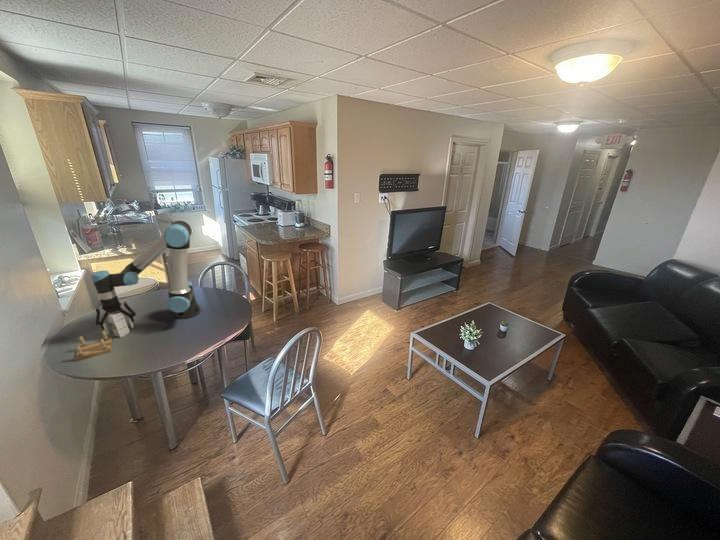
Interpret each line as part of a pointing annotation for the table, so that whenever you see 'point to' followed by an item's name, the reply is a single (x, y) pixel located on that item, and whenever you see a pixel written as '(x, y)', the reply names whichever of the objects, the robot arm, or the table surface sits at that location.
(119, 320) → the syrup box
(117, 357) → the table surface
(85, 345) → the peg rack
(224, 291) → the table surface
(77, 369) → the table surface
